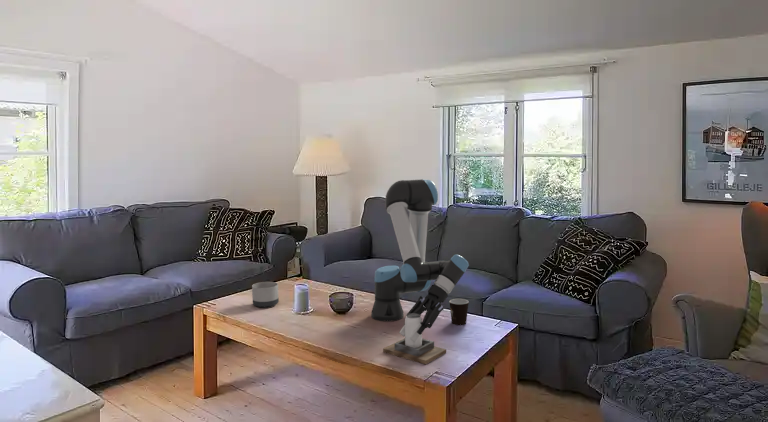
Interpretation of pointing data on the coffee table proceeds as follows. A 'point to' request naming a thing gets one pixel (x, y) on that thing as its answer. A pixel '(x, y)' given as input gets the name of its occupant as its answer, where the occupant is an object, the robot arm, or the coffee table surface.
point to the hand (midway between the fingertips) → (406, 337)
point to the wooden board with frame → (415, 351)
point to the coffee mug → (459, 311)
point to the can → (412, 330)
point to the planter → (265, 294)
